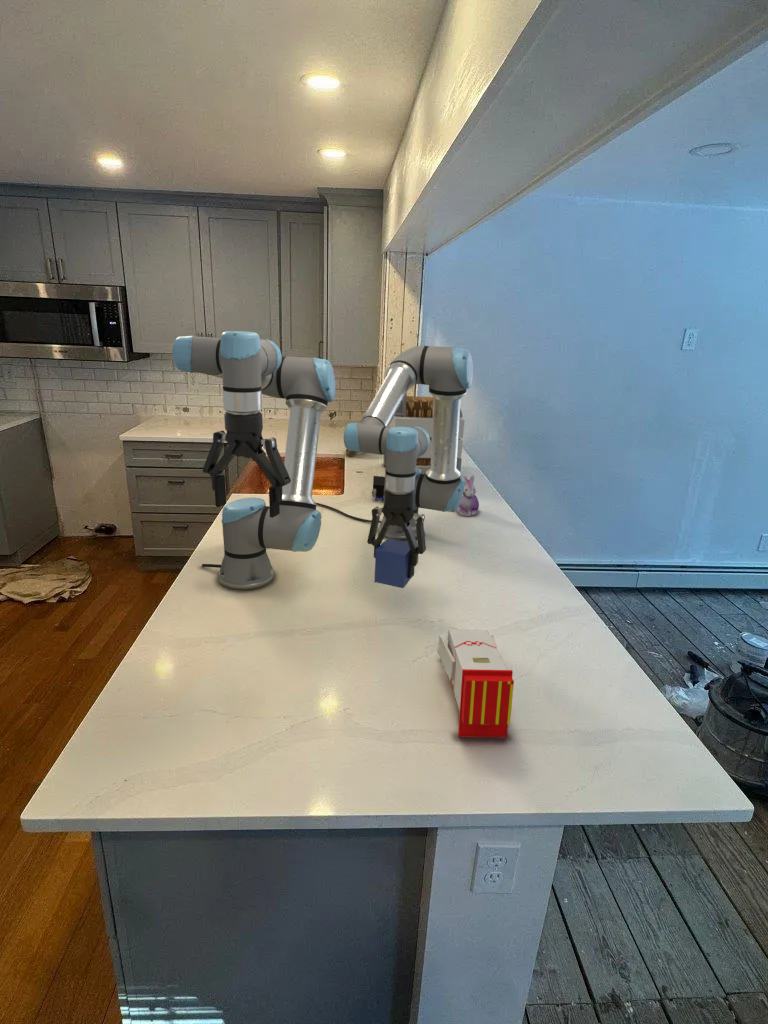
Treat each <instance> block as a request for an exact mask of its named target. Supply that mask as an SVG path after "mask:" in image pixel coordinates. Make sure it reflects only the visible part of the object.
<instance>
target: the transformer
mask: <svg viewBox="0 0 768 1024" xmlns="http://www.w3.org/2000/svg"><path fill="white" fill-rule="evenodd" d="M407 394H408V392H406V394H405V396H404V398H403V400H402V402H401V404H400V406H399V408H398V410H397V412H396V413H395V415H394V417H393V419H392V421H391V423H390V425H389V427H410V428H411V427H420V428H423V429H424V430H425V431H426V432H427V433H428V435H429V437H430V445H429V447H428V449H427V450H426V452H425V453H424V454H423V455H422V456H420V457H419V458H417V459H416V467H417V466H418V467H430V466H431V443H432V420H433V396H415V395H414V396H413V395H412V396H411V395H407ZM464 429H465V419H464V418H463V411H462V408H461V407H460V420H459V435H458V450H457V465H456V468H457V470H459V471H460V474H461V472H462V461H463V460H462V453H463V442H464V441H463V440H462V439H463V438H464V431H465V430H464ZM383 466H384V467H386V455H383Z"/></svg>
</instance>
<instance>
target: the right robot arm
mask: <svg viewBox="0 0 768 1024" xmlns="http://www.w3.org/2000/svg"><path fill="white" fill-rule="evenodd" d="M384 373H385V374H384V375H385V378H384V380H383V381H382V382H381V385H380V386H379V388H378V390H377V392H376V393H375V395H374V397H373V399H372V401H371V402H370V404H369V405H368V408H367V409H366V411H365V413H364V414H363V417H362V418H361V420H360V421H359V422H349V423H348V424H347V425H346V426H345V429H344V431H343V444H344V447H345V449H348V450H351V451H356V452H358V454H359V453H361V454H371V455H372V454H373V455H379V456H380V455H381V456H384V455H386V466H385V471H384V477H385V485H384V488H385V489H386V490H385V491H384V497H383V498H384V501H383V506H382V507H379V506H375V507H374V508H372V509H371V517H372V518H371V519H365V518H361V517H357V516H354V515H350V514H348V513H346V512H343V511H341V510H340V509H337V508H334V507H332V506H330V505H327V504H323V503H319V502H316V501H314V502H315V503H316V506H319V507H320V506H321V507H323V508H327V509H330V510H332V511H335V512H337V513H339V514H341V515H343V516H345V517H348V518H349V519H350V518H351V519H353V520H357V521H361V522H366V523H370V527H369V532H368V536H367V540H366V543H367V544H368V545H372V546H373V558H374V559H375V555H376V549H377V548H378V547H379V546H380V545H381V544H382V543H383V542H384V539H385V538H386V539H388V538H390V539H395V540H401V541H406V542H408V544H409V547H410V550H411V553H410V554H409V560H408V576H407V578H411V577H412V575H413V574H414V575H415V567H416V566H417V565H418V563H419V555H423V554H424V553H425V552H426V550H427V545H426V543H427V542H426V536H425V534H426V533H425V524H424V523H425V519H426V515H425V514H423V513H422V514H419V509H425V510H432V511H437V512H443V513H445V512H447V513H455V512H457V511H458V507H459V505H460V502H461V499H462V496H463V492H464V487H465V480H464V479H463V478H461V474H460V471H459V470H457V468H456V465H457V450H458V435H459V420H460V408H461V403H462V398H464V396H465V395H467V390H468V389H470V388H471V387H472V385H473V378H474V363H473V357H472V354H471V352H470V351H469V350H468V349H466V348H461V347H456V346H437V345H436V346H435V345H415V346H412V347H410V348H407V349H406V350H404V351H402V352H400V354H397V356H396V357H394V358H393V360H391V361H390V363H389V364H388V366H387V367H386V369H385V372H384ZM415 385H423V386H425V385H426V386H428V393H429V394H430V395H431V397H433V420H432V443H431V465H430V466H429V468H427V469H426V470H425V473H422V469H421V468H419V467H417V466H416V459H417V458H419V457H420V456H422V455H423V454H424V453H425V452H426V450H427V449H428V447H429V445H430V437H429V435H428V433H427V432H426V431H425V430H424V429H423V428H420V427H411V428H410V427H389V425H390V423H391V421H392V419H393V417H394V415H395V413H396V412H397V410H398V408H399V406H400V404H401V402H402V400H403V398H404V396H405V394H406V393H408V392H409V390H411V389H412V388H413V387H414V386H415ZM382 514H383V515H382ZM381 515H382V519H381ZM380 519H381V520H380ZM377 531H378V535H377ZM416 539H417V540H416ZM414 566H415V567H414ZM412 578H413V577H412ZM412 578H411V579H412Z"/></svg>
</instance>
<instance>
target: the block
mask: <svg viewBox="0 0 768 1024" xmlns="http://www.w3.org/2000/svg"><path fill="white" fill-rule="evenodd" d="M410 553H411V550H410V547H409V544H408V541H407V540H395V539H390V538H386V539H385V540H383V541H382V543H381V544H380V546H379V547H378V548H377V549H376V555H375V558H374V559H375V560H374V582H373V583H377V584H382V585H385V586H389V587H395V588H400V589H404V588H405V587H406V586H407V584H408V583H409V582H410V581H411V579H412V578H414V575H415V573H414V574H413V575H412V577H411V578H407V576H408V560H409V554H410ZM415 567H416V566H414V568H415Z"/></svg>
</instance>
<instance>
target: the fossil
mask: <svg viewBox="0 0 768 1024" xmlns="http://www.w3.org/2000/svg"><path fill="white" fill-rule="evenodd" d="M357 454H359V452H356V451H351V450H348V449H347V448H345V455H346V457H348V458H351V457H354V456H356V455H357Z"/></svg>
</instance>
